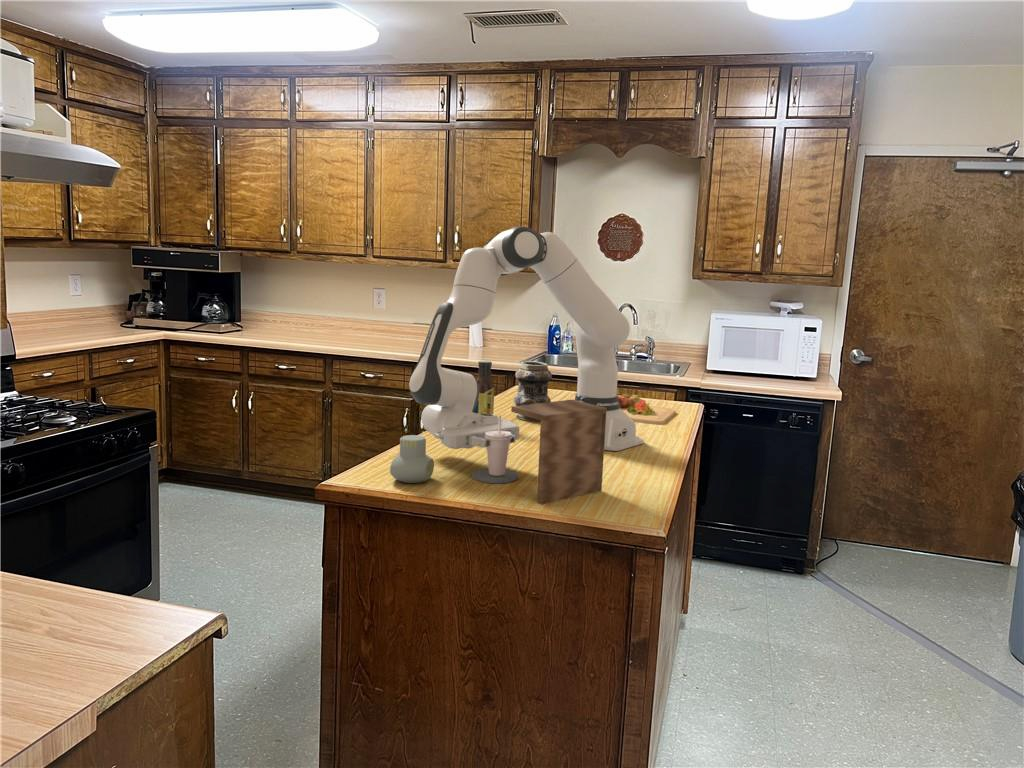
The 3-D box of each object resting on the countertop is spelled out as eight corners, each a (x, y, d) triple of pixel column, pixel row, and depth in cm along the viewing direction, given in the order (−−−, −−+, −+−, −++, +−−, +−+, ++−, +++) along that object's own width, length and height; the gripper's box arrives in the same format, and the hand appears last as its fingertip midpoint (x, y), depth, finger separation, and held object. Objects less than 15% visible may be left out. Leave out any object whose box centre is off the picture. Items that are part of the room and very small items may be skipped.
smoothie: (490, 478, 181) (492, 418, 179) (478, 471, 187) (480, 413, 185) (515, 475, 184) (517, 417, 182) (503, 468, 190) (505, 411, 187)
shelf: (568, 478, 187) (572, 399, 184) (601, 490, 178) (606, 408, 175) (508, 490, 176) (511, 406, 173) (540, 504, 167) (544, 415, 164)
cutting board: (676, 414, 273) (677, 393, 272) (661, 427, 252) (663, 404, 251) (580, 403, 286) (581, 383, 285) (558, 414, 265) (559, 392, 264)
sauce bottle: (490, 429, 236) (492, 363, 233) (470, 427, 237) (472, 362, 234) (495, 424, 242) (497, 360, 239) (475, 422, 244) (477, 359, 240)
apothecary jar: (557, 420, 253) (560, 364, 250) (527, 423, 246) (529, 366, 243) (535, 412, 263) (538, 359, 260) (505, 415, 256) (507, 361, 253)
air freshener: (422, 488, 175) (423, 444, 173) (387, 485, 176) (387, 441, 175) (435, 475, 186) (436, 434, 184) (402, 472, 187) (403, 431, 185)
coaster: (499, 468, 194) (499, 465, 194) (528, 479, 185) (528, 476, 185) (463, 474, 187) (463, 472, 187) (490, 486, 178) (490, 483, 178)
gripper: (430, 421, 187) (464, 433, 177) (499, 413, 200) (534, 424, 189) (430, 447, 188) (463, 460, 178) (498, 437, 201) (532, 449, 190)
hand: (500, 441), depth 183 cm, fingers closed on smoothie, 6 cm apart
